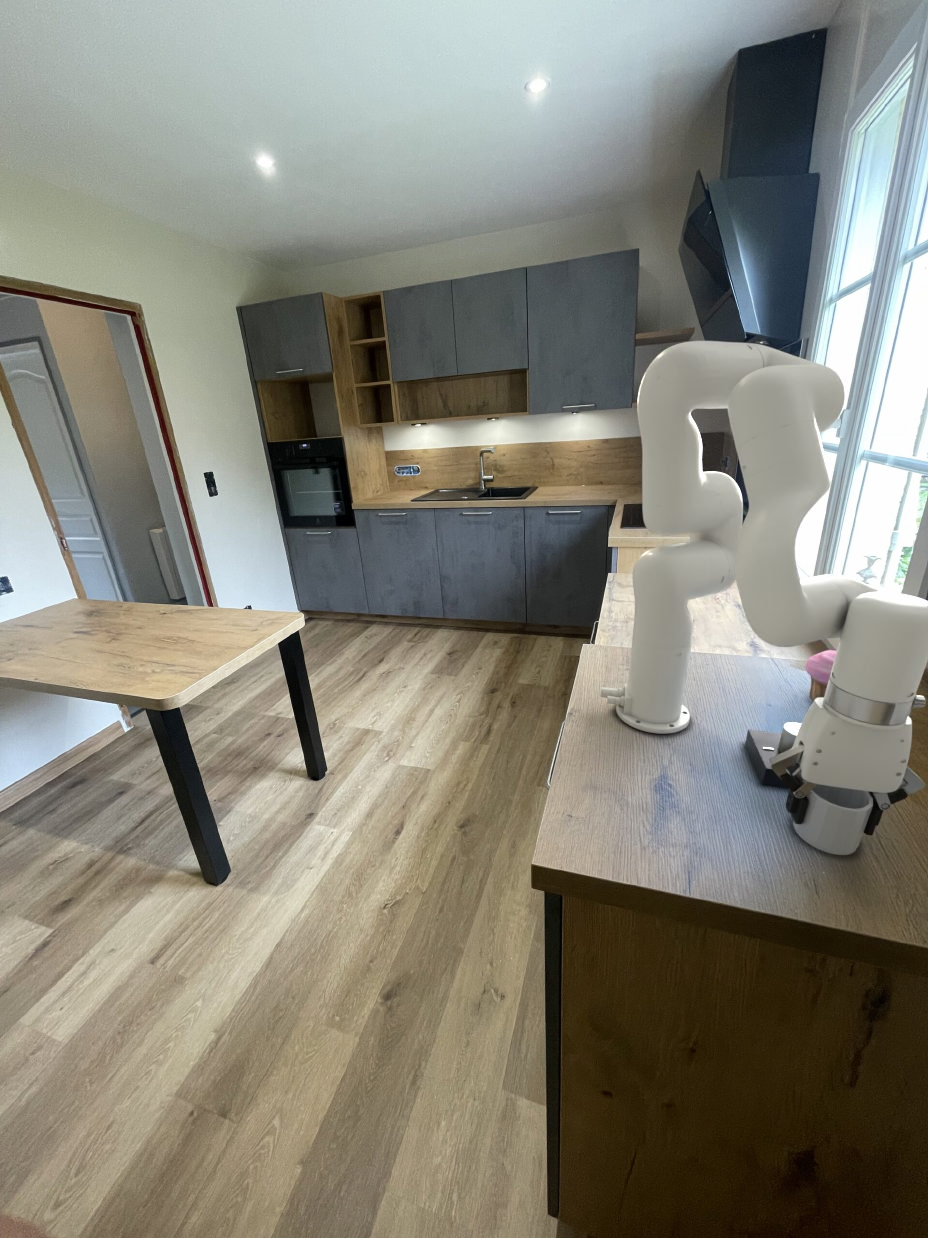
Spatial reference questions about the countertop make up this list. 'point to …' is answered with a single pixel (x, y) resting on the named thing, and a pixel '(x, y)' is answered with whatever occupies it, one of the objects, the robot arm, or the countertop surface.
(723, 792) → the countertop surface
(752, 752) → the panel
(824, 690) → the cupcake
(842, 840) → the pot
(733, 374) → the robot arm
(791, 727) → the oven knob
